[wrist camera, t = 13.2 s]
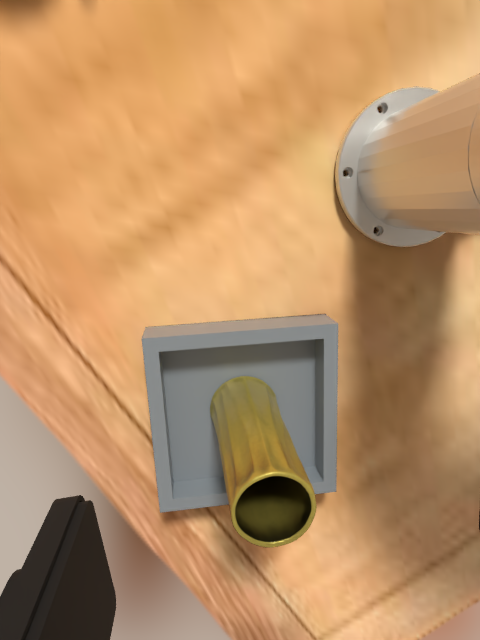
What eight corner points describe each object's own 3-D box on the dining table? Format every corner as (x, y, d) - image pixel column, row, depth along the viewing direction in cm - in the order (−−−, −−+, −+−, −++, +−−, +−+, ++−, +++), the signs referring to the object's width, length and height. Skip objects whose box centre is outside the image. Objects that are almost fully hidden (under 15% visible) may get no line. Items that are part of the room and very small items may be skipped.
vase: (261, 444, 41) (300, 564, 27) (199, 426, 40) (207, 541, 26) (286, 387, 40) (340, 481, 26) (224, 366, 38) (246, 453, 25)
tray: (325, 313, 39) (338, 323, 36) (324, 469, 43) (336, 491, 40) (145, 327, 38) (141, 338, 34) (162, 488, 42) (160, 512, 38)
